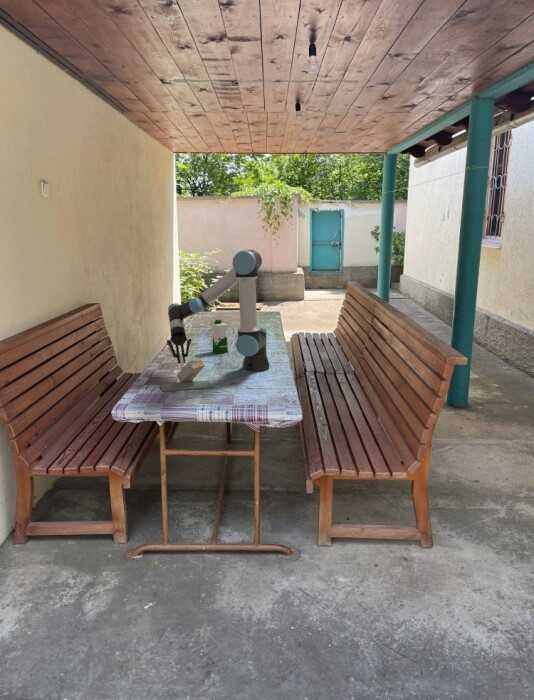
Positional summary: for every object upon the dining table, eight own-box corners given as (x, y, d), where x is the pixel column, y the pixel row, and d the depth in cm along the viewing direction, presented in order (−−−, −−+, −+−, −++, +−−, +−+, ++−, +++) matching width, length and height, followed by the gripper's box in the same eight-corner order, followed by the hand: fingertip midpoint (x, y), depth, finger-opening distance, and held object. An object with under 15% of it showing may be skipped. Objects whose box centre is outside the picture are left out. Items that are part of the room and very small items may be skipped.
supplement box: (188, 371, 271) (201, 357, 263) (192, 379, 270) (205, 365, 262) (176, 375, 265) (188, 360, 257) (180, 383, 263) (193, 369, 256)
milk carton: (222, 350, 339) (222, 319, 335) (230, 352, 332) (229, 321, 327) (210, 351, 334) (210, 320, 329) (218, 354, 327) (217, 322, 322)
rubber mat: (208, 381, 266) (208, 380, 266) (213, 388, 255) (213, 387, 255) (160, 385, 260) (160, 384, 259) (162, 392, 248) (162, 390, 248)
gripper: (189, 333, 284) (194, 371, 271) (164, 334, 280) (169, 372, 268) (190, 325, 277) (195, 363, 265) (165, 326, 274) (169, 365, 262)
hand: (182, 368), depth 267 cm, fingers closed
